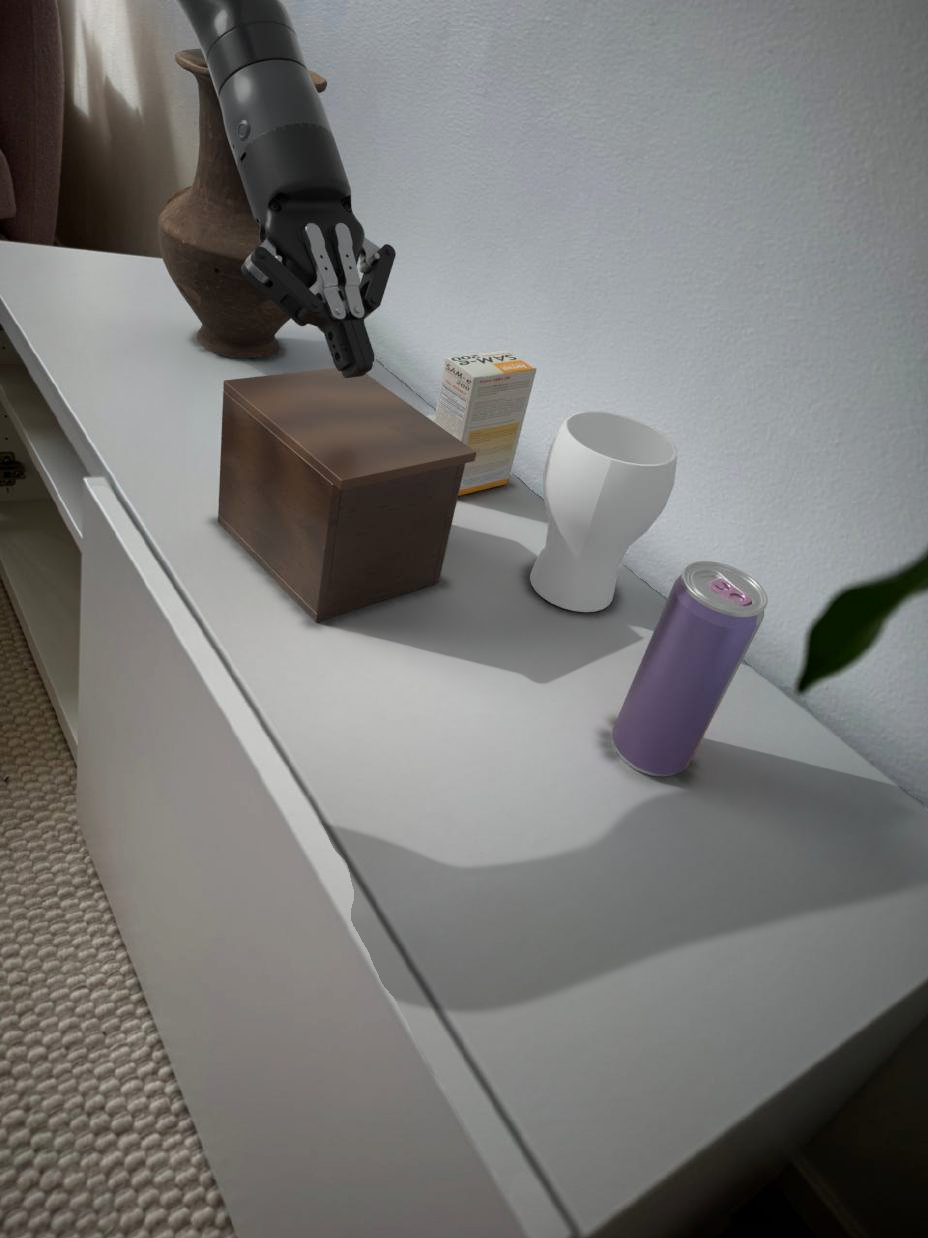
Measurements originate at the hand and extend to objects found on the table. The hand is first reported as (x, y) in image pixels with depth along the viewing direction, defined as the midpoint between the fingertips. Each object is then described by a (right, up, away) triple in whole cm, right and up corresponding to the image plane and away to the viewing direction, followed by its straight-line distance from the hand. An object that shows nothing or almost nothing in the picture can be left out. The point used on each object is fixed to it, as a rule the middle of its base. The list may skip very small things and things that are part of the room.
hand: (358, 373), depth 66 cm
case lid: (-1, -3, +3) cm, 5 cm away
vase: (-20, +15, +42) cm, 49 cm away
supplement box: (+8, -4, +26) cm, 28 cm away
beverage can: (+21, -28, -2) cm, 35 cm away
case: (-4, -13, +10) cm, 17 cm away
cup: (+18, -16, +14) cm, 27 cm away
